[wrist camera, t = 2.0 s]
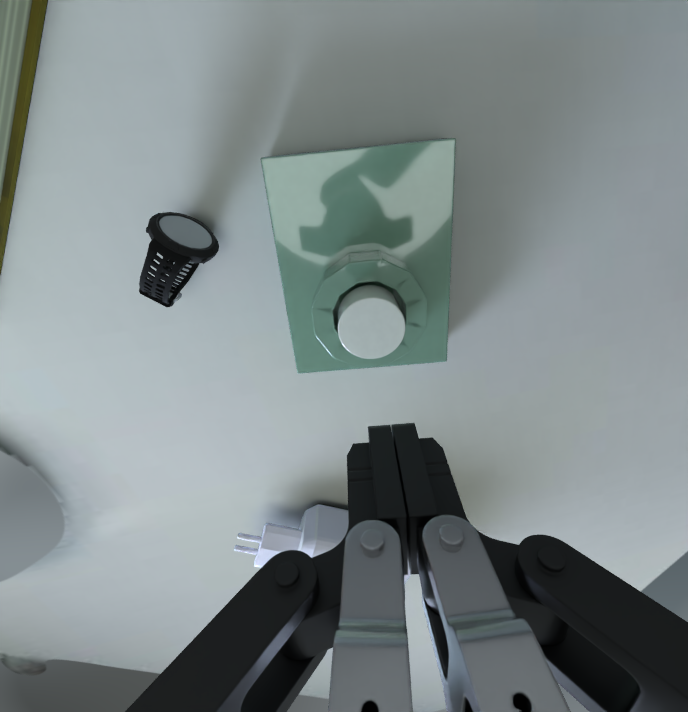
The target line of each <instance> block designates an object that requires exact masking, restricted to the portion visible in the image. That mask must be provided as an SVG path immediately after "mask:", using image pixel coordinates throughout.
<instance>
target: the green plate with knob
mask: <svg viewBox="0 0 688 712" xmlns="http://www.w3.org/2000/svg"><path fill="white" fill-rule="evenodd" d="M455 150H456V139H455V138H446V139H435V140H425V141H415V142H405V143H396V144H386V145H376V146H366V147H357V148H347V149H337V150H327V151H318V152H308V153H298V154H288V155H278V156H269V157H263V158H261V164H262V170H263V176H264V182H265V188H266V193H267V199H268V205H269V211H270V217H271V222H272V228H273V234H274V240H275V246H276V251H277V257H278V263H279V269H280V275H281V281H282V286H283V292H284V298H285V304H286V310H287V315H288V321H289V327H290V333H291V339H292V344H293V350H294V356H295V362H296V368H297V373H310V372H323V371H335V370H347V369H360V368H372V367H384V366H397V365H409V364H421V363H434V362H446V361H447V344H448V320H449V296H450V271H451V247H452V223H453V199H454V174H455ZM366 285H376V286H380V287H383V288H385V289H387V290H388V291H390V292H391V293H392V294H393V295H394V296H395V297H396V299H397V301H398V303H399V305H400V308H401V311H402V314H403V316H404V319H405V326H406V327H405V334H404V337H403V340H402V342H401V343H400V345H399V346H398V347H397V348H396V349H395V350H394V351H393V352H391V353H390V354H388V355H386V356H384V357H381V358H376V359H365V358H360V357H357V356H355V355H353V354H352V353H350V352H349V351H348V350H346V348H345V347H344V346H343V345H342V343H341V341H340V339H339V336H338V310H339V306H340V304H341V302H342V300H343V299H344V297H345V296H346V295H347V294H348V293H349V292H351V291H352V290H354V289H356V288H358V287H361V286H366Z"/></svg>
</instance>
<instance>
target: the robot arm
mask: <svg viewBox="0 0 688 712" xmlns="http://www.w3.org/2000/svg"><path fill="white" fill-rule="evenodd" d="M368 433H369V443H357V444H353V445H352V447H351V449H350V451H349V453H348V455H347V470H348V471H347V475H348V519H349V523H348V530H347V533H346V535H345V537H344V538H343V540H342V541H341V542H340V543H339V544H338V545H337V546H336V547H334V548H333V549H331V550H329V551H327V552H325V553H322V554H320V555H317V556H315V557H312V558H311V557H310V556H309V555H308V554H306V553H304V552H302V551H298V550H287V551H283V552H280V553H278V554H276V555H275V556H273V557H272V558H271V559H270V560H268V561H267V562H266V564H265V565H264V566H263V567H262V568H261V569H260V570H259V571H258V572H257V573H256V574H255V575H254V576H253V577H252V578H251V579H250V580H249V581H248V583H247V584H246V585H245V586H244V587H243V588H242V589H241V590H240V591H239V592H238V593H237V594H236V595H235V596H234V597H233V598H232V599H231V600H230V602H229V603H228V604H227V605H226V606H225V607H224V608H223V609H222V610H221V611H220V612H219V613H218V614H217V615H216V616H215V617H214V618H213V619H212V621H211V622H210V623H209V624H208V625H207V626H206V627H205V628H204V629H203V630H202V631H201V632H200V633H199V634H198V635H197V636H196V637H195V638H194V640H193V641H192V642H191V643H190V644H189V645H188V646H187V647H186V648H185V649H184V650H183V651H182V652H181V653H180V654H179V655H178V656H177V657H176V659H175V660H174V661H173V662H172V663H171V664H170V665H169V666H168V667H167V668H166V669H165V670H164V671H163V672H162V673H161V674H160V675H159V676H158V678H157V679H156V680H155V681H154V682H153V683H152V684H151V685H150V686H149V687H148V688H147V689H146V690H145V691H144V692H143V693H142V694H141V696H140V697H139V698H138V699H137V700H136V701H135V702H134V703H133V704H132V705H131V706H130V707H129V708H128V709H127V710H126V711H125V712H287V710H288V709H289V707H290V706H291V704H292V703H293V701H294V700H295V698H296V697H297V696H298V694H299V693H300V691H301V690H302V688H303V687H304V685H305V684H306V682H307V681H308V679H309V678H310V676H311V675H312V673H313V672H314V671H315V669H316V668H317V666H318V665H319V663H320V662H321V660H322V659H323V657H324V656H325V654H326V652H327V650H328V649H330V648H332V647H333V656H332V668H331V681H330V694H329V706H328V712H413V708H412V693H411V679H410V664H409V650H408V637H407V629H406V616H405V584H404V575H408V563H409V569H410V574H419V576H420V582H421V587H422V605H423V609H424V613H425V617H426V621H427V625H428V629H429V633H430V637H431V641H432V645H433V649H434V653H435V657H436V660H437V664H438V668H439V672H440V676H441V680H442V685H443V689H444V695H445V702H446V710H447V712H571V711H570V709H569V707H568V705H567V702H566V700H565V698H564V696H563V694H562V692H561V690H560V687H559V685H558V683H559V684H560V685H561V686H562V687H563V688H564V689H565V690H566V691H567V692H569V693H570V694H571V695H572V696H573V697H574V698H575V699H576V700H577V701H579V702H580V703H581V704H582V705H583V706H584V707H585V708H586V709H587V710H588V711H589V712H688V622H686V621H685V620H683V619H682V618H680V617H679V616H677V615H676V614H674V613H672V612H671V611H669V610H668V609H666V608H665V607H663V606H662V605H660V604H659V603H657V602H655V601H654V600H652V599H651V598H649V597H648V596H646V595H645V594H643V593H642V592H640V591H639V590H637V589H635V588H634V587H632V586H631V585H629V584H628V583H626V582H625V581H623V580H622V579H620V578H619V577H617V576H615V575H614V574H612V573H611V572H609V571H608V570H606V569H605V568H603V567H602V566H600V565H598V564H597V563H595V562H594V561H592V560H591V559H589V558H588V557H586V556H585V555H583V554H582V553H580V552H578V551H577V550H575V549H574V548H572V547H571V546H569V545H568V544H566V543H564V542H563V541H561V540H559V539H557V538H554V537H551V536H547V535H532V536H529V537H527V538H525V539H524V540H523V541H522V542H521V543H520V544H519V545H516V544H512V543H508V542H503V541H499V540H495V539H492V538H489V537H487V536H485V535H483V534H482V533H480V532H479V531H477V530H476V529H475V528H474V527H473V526H472V525H471V524H470V522H469V521H468V519H467V517H466V515H465V512H464V509H463V506H462V504H461V501H460V498H459V495H458V492H457V489H456V486H455V483H454V480H453V477H452V475H451V471H450V468H449V465H448V464H447V459H446V456H445V453H444V450H443V448H442V447H441V446H440V445H439V444H438V443H437V442H436V441H435V440H434V439H433V438H422V439H419V438H418V434H417V431H416V427H415V424H414V423H406V424H393V425H392V432H391V427H390V425H382V426H369V427H368ZM557 682H558V683H557Z"/></svg>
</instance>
